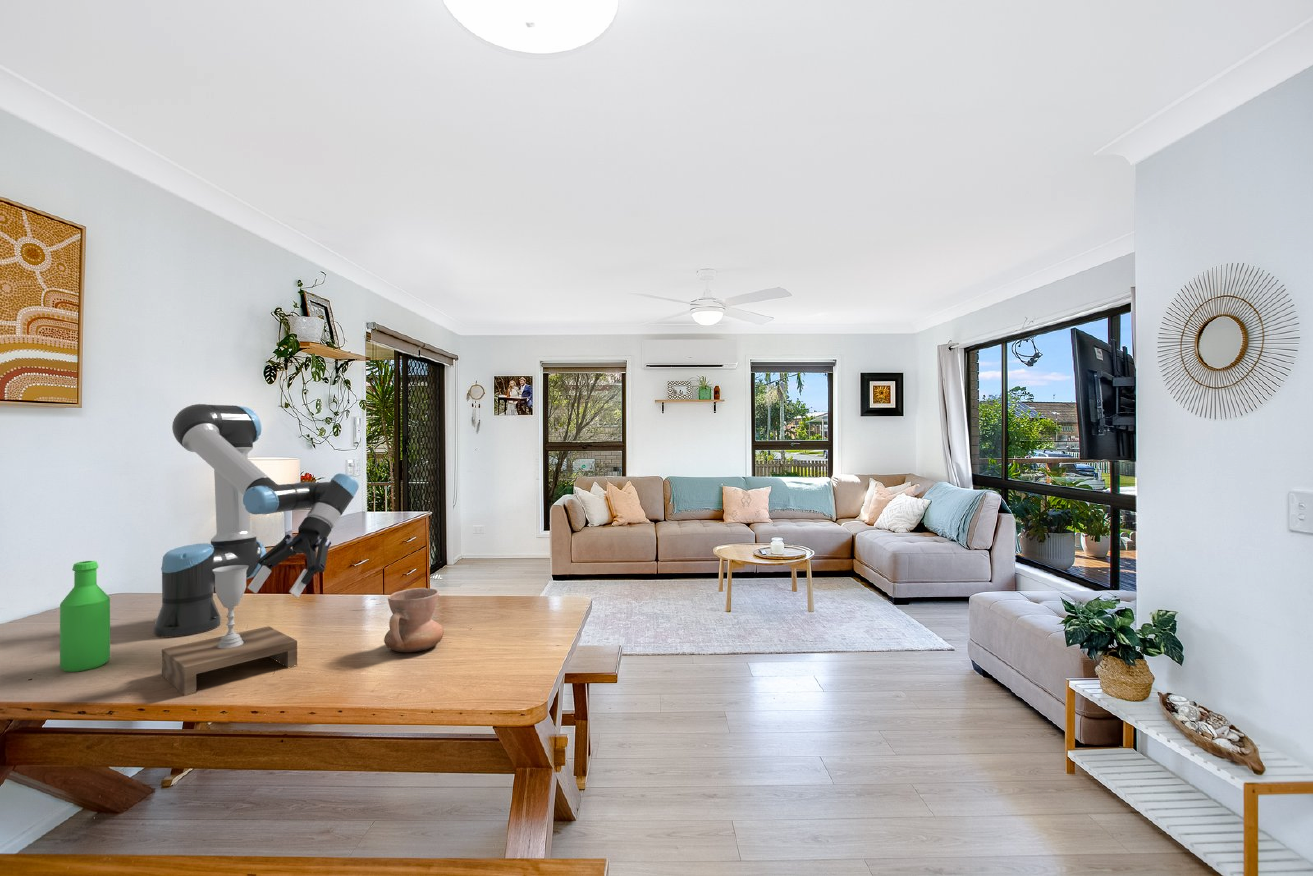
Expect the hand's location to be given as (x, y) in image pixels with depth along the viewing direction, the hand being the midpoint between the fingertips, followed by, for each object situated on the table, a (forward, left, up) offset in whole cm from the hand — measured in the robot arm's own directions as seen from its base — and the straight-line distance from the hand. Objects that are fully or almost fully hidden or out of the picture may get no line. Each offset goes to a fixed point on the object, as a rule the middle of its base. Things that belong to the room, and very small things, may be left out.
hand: (272, 592), depth 155 cm
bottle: (-26, -31, -16) cm, 43 cm away
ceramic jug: (+23, +25, -16) cm, 38 cm away
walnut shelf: (+4, -10, -15) cm, 19 cm away
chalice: (+4, -10, -10) cm, 15 cm away
